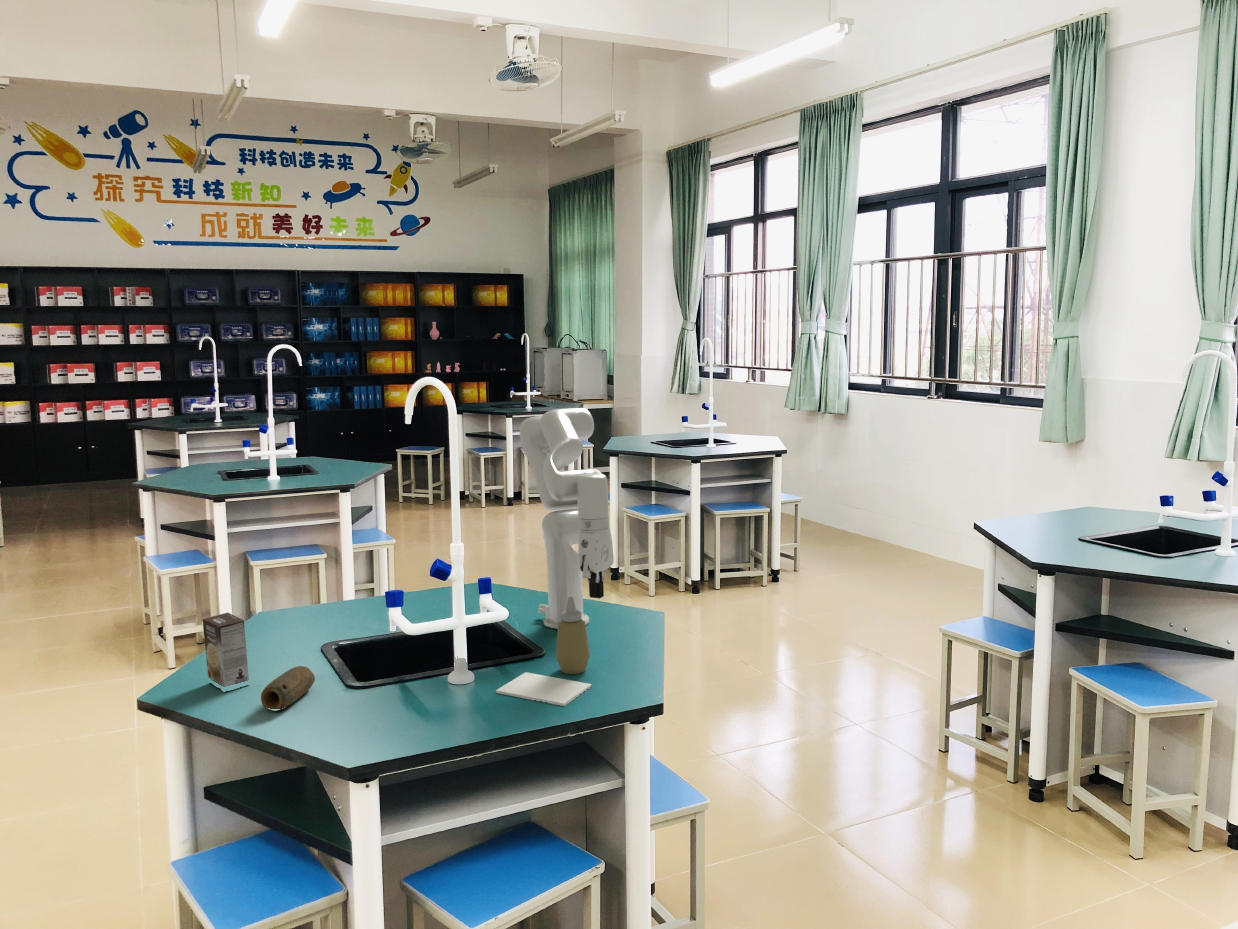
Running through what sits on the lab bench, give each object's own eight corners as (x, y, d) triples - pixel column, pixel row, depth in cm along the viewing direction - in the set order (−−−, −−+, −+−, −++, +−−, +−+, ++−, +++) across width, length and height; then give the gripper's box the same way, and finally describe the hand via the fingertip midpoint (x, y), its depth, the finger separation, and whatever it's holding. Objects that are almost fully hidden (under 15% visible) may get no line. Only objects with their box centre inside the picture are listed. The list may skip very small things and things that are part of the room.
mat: (496, 692, 213) (496, 690, 213) (525, 674, 224) (525, 672, 224) (564, 706, 205) (564, 703, 205) (591, 686, 216) (591, 684, 215)
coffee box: (207, 683, 224) (200, 618, 221) (233, 676, 228) (227, 611, 226) (224, 693, 217) (218, 626, 215) (251, 685, 222) (245, 619, 220)
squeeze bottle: (595, 666, 228) (593, 594, 225) (580, 678, 221) (578, 604, 218) (566, 662, 231) (563, 591, 228) (550, 674, 224) (547, 600, 221)
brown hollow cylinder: (291, 715, 205) (288, 685, 204) (260, 715, 205) (257, 685, 204) (318, 688, 219) (316, 660, 218) (289, 688, 220) (286, 660, 219)
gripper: (592, 531, 223) (595, 606, 225) (621, 519, 236) (624, 591, 238) (564, 529, 226) (568, 603, 228) (595, 517, 239) (598, 588, 242)
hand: (596, 597), depth 233 cm, fingers closed
